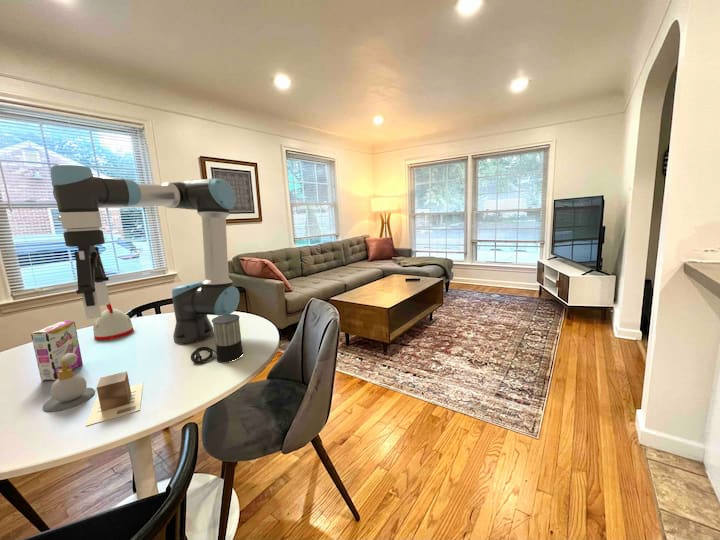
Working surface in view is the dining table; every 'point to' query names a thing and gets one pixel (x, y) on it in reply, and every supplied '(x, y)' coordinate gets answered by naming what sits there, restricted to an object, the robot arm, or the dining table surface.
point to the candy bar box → (55, 348)
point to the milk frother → (223, 340)
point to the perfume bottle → (68, 381)
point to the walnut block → (114, 391)
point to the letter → (132, 407)
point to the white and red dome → (112, 324)
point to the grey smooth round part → (67, 402)
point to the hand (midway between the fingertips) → (99, 311)
